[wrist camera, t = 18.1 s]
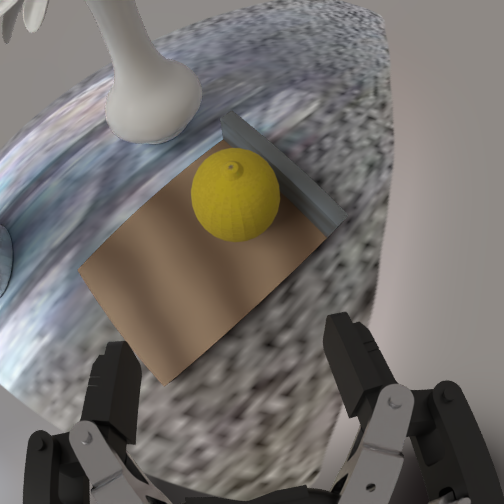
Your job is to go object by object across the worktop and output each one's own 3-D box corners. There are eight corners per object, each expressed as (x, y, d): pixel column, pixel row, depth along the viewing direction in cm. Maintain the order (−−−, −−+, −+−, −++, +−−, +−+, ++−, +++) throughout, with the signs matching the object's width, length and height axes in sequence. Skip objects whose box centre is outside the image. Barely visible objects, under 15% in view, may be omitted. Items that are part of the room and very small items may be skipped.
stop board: (169, 382, 21) (151, 397, 16) (86, 272, 23) (57, 263, 18) (332, 233, 23) (348, 215, 19) (234, 140, 25) (231, 110, 21)
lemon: (239, 171, 23) (233, 109, 15) (290, 217, 22) (308, 167, 14) (188, 218, 22) (157, 170, 14) (238, 268, 21) (229, 242, 13)
